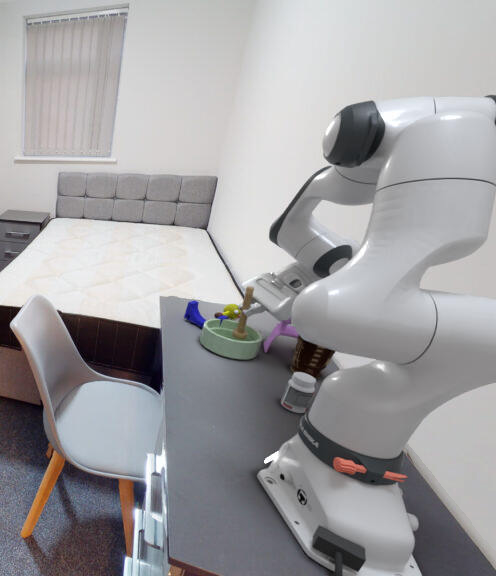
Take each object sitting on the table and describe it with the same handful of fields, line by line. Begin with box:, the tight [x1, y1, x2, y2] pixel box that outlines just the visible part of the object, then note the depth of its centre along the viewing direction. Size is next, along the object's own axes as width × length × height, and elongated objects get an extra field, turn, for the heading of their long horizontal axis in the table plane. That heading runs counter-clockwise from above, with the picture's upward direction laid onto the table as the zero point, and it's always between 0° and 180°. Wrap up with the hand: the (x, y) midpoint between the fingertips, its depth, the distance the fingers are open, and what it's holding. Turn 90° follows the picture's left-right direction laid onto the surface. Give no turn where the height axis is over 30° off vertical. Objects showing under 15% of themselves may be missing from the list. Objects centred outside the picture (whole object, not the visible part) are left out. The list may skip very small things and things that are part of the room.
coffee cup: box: [289, 334, 337, 380], centre depth 97 cm, size 9×8×13 cm
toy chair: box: [263, 318, 298, 353], centre depth 106 cm, size 8×9×15 cm
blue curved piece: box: [183, 300, 228, 329], centre depth 121 cm, size 12×4×6 cm, turn 25°
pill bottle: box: [280, 372, 317, 414], centre depth 85 cm, size 5×5×8 cm
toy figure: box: [213, 303, 241, 321], centre depth 124 cm, size 18×6×7 cm, turn 119°
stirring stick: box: [232, 286, 254, 339], centre depth 107 cm, size 4×4×16 cm
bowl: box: [199, 318, 264, 360], centre depth 109 cm, size 15×15×6 cm
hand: (242, 311), depth 107 cm, fingers closed on stirring stick, 2 cm apart
